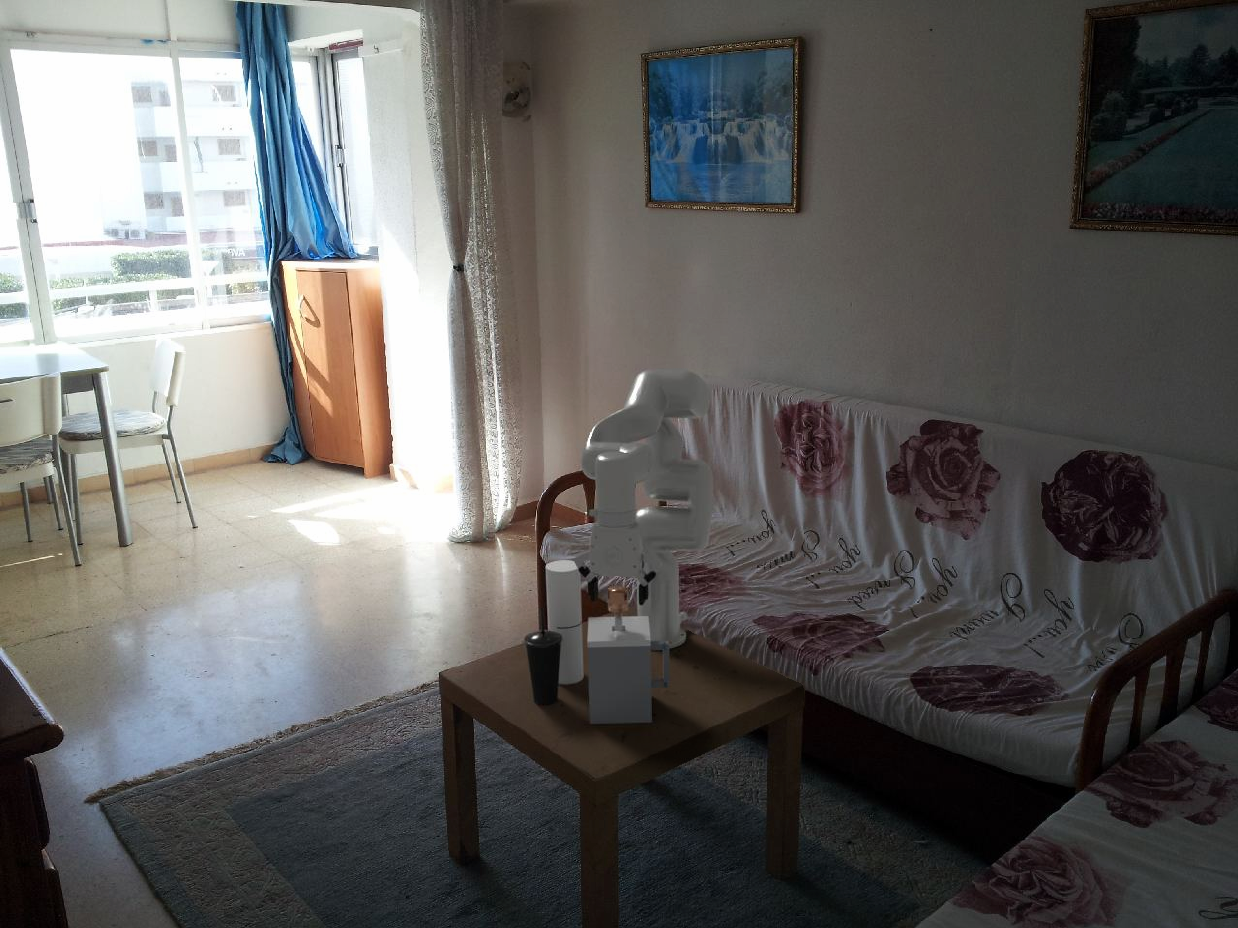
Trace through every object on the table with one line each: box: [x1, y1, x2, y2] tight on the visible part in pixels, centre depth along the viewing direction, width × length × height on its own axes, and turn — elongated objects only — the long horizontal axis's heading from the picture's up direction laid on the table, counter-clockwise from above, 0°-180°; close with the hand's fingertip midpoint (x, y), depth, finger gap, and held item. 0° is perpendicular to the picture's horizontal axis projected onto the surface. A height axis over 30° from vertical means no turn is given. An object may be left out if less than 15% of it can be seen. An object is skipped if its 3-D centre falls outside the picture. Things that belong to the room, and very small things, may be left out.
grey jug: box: [586, 615, 671, 725], centre depth 211 cm, size 16×12×17 cm
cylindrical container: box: [545, 559, 585, 685], centre depth 224 cm, size 7×7×25 cm
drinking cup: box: [523, 607, 562, 707], centre depth 215 cm, size 8×8×20 cm
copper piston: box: [607, 585, 629, 631], centre depth 209 cm, size 9×9×23 cm
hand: (618, 600), depth 207 cm, fingers open, 9 cm apart
